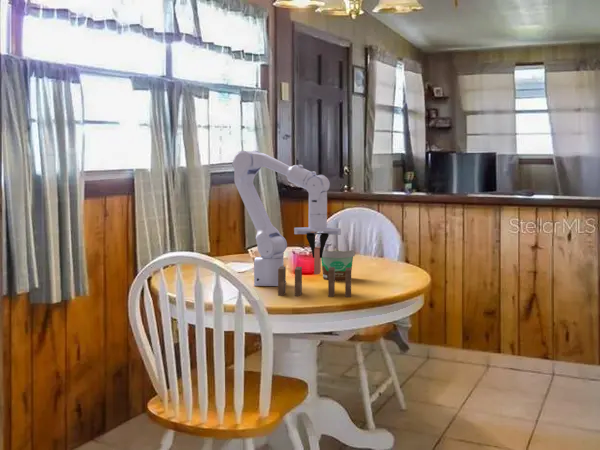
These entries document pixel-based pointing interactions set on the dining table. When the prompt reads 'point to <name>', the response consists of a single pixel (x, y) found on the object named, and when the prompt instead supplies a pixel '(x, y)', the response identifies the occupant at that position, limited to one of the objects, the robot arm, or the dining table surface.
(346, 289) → the domino
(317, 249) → the domino
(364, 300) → the dining table surface
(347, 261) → the food container
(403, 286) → the dining table surface
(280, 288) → the domino
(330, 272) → the domino
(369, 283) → the dining table surface
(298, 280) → the domino
